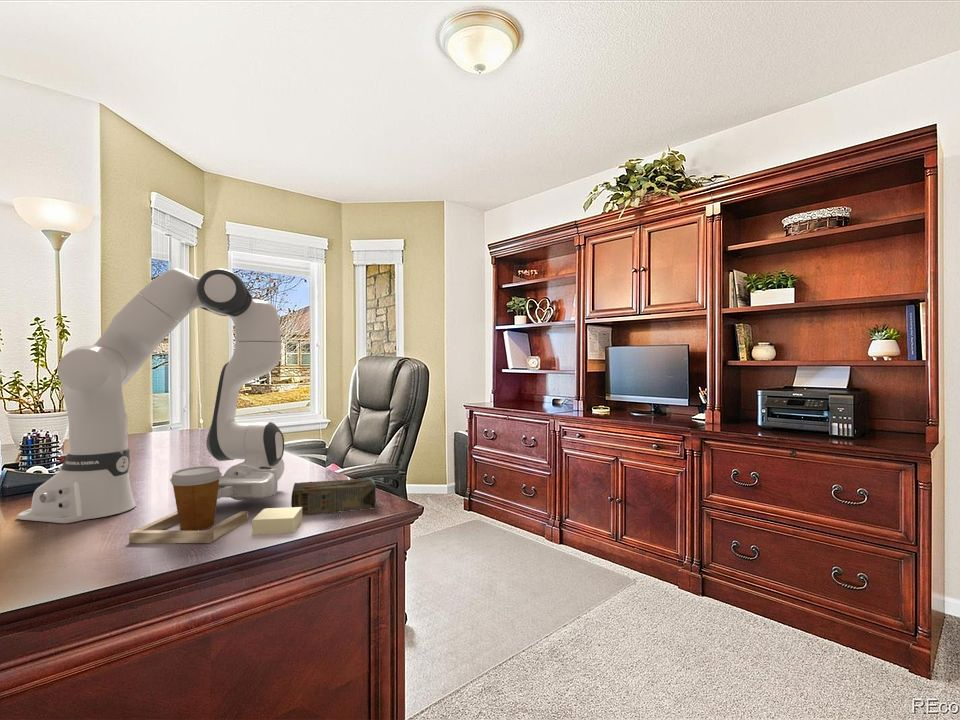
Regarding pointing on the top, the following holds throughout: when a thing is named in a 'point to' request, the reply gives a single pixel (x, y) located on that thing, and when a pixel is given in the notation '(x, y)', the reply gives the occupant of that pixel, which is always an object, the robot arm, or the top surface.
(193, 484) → the disposable coffee cup
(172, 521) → the frame
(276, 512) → the note block
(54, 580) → the top surface
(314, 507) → the beverage carton
